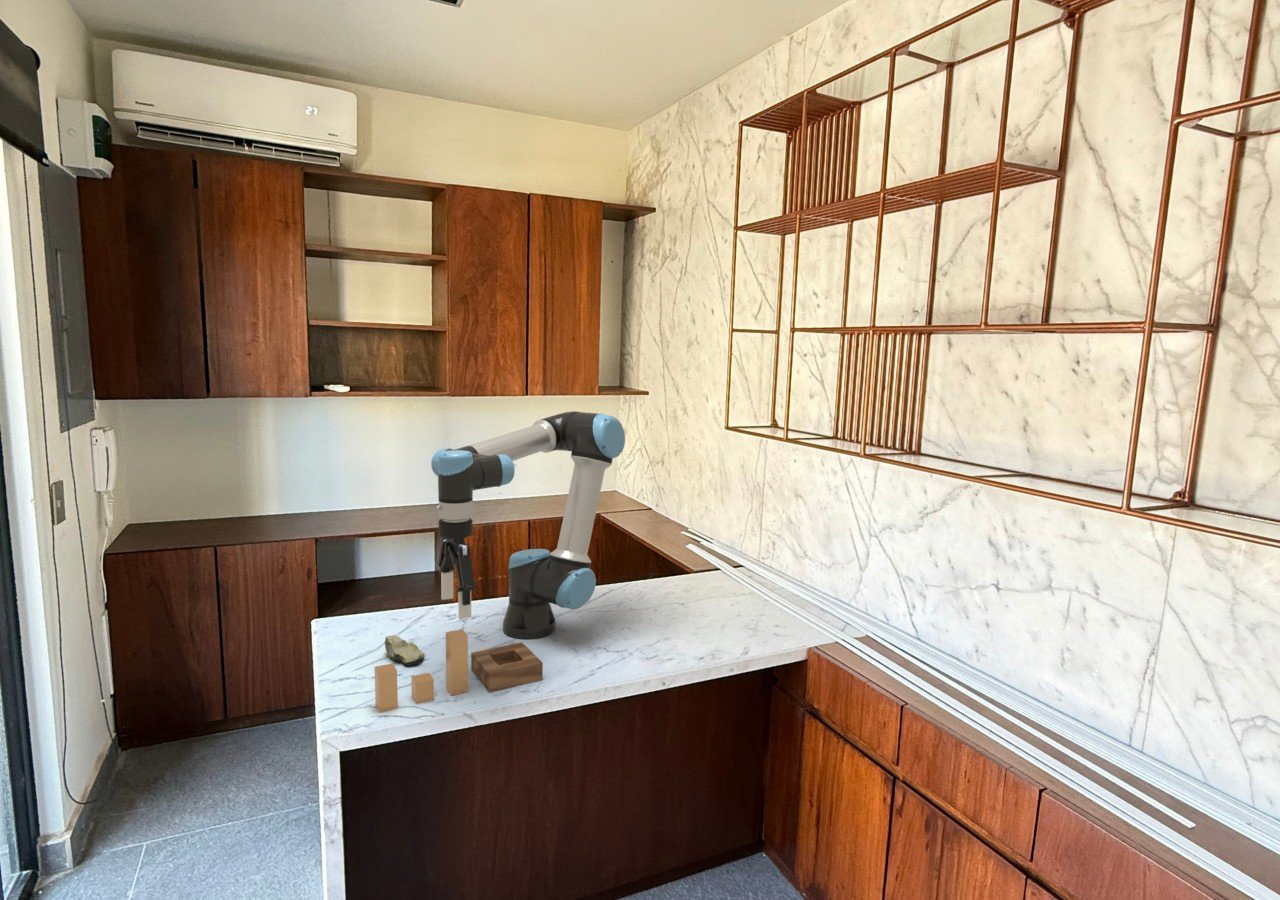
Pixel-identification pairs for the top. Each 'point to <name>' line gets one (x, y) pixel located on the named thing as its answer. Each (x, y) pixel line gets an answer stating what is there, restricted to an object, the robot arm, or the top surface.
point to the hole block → (506, 666)
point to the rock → (402, 650)
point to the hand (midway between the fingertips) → (455, 607)
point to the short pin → (422, 688)
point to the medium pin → (386, 687)
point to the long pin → (456, 662)
